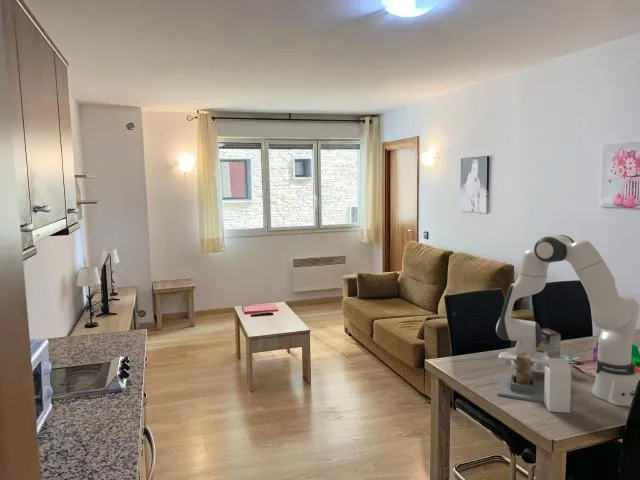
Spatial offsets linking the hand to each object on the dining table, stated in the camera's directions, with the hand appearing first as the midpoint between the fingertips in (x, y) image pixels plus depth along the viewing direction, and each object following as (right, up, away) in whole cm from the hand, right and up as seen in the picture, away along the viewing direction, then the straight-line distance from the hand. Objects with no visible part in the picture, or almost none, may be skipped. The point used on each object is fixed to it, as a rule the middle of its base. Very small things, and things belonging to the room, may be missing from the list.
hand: (523, 367), depth 188 cm
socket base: (+1, -10, +2) cm, 10 cm away
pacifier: (+35, -6, +31) cm, 48 cm away
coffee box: (+23, -6, +28) cm, 36 cm away
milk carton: (+6, -11, -14) cm, 19 cm away
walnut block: (+1, -7, +2) cm, 7 cm away
